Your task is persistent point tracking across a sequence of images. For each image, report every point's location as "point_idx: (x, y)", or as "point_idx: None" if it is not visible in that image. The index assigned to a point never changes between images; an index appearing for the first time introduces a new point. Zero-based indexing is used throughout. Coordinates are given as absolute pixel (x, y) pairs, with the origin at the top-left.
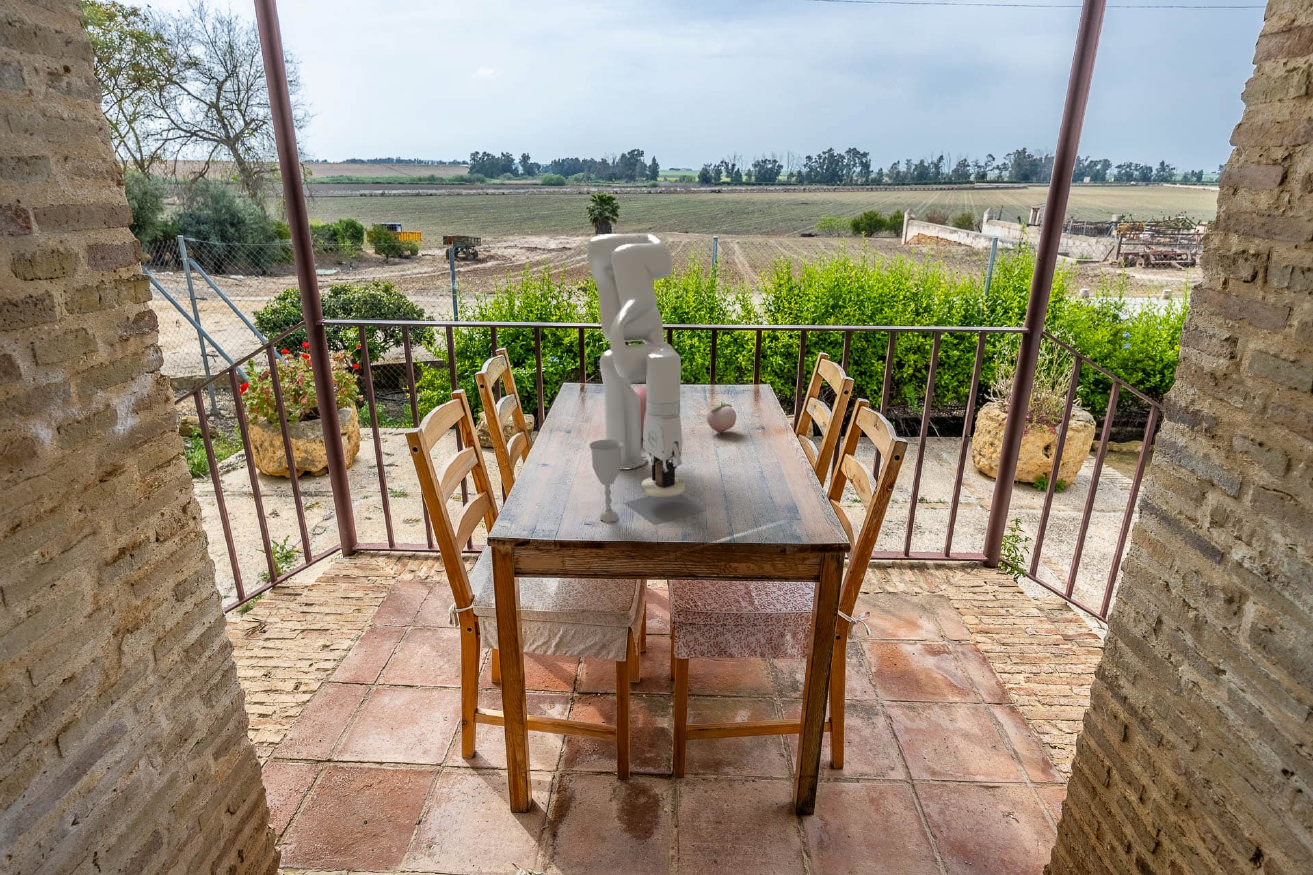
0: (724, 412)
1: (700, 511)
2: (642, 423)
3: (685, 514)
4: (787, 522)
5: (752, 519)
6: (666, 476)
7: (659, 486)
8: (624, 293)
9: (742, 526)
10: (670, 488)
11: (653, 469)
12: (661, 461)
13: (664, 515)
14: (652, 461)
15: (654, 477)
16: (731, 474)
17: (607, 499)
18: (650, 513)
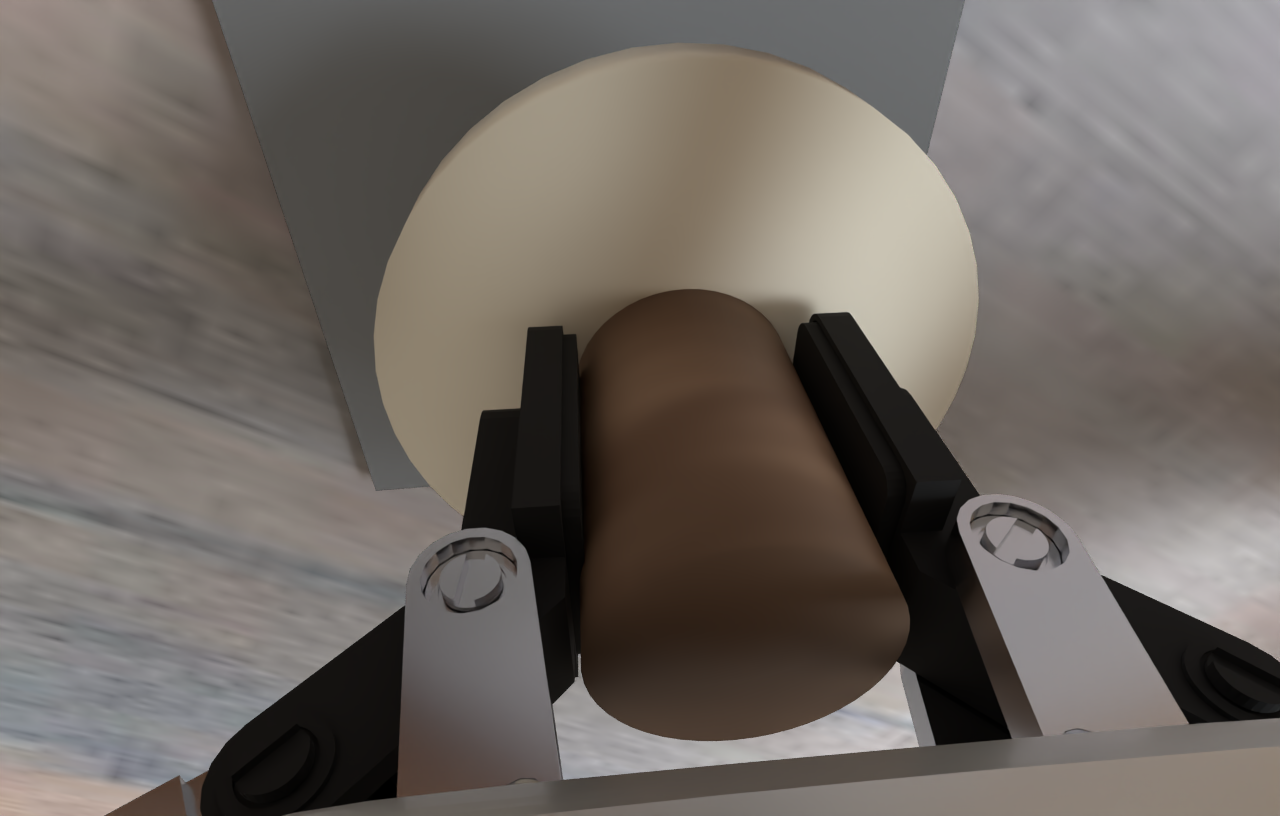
0: None
1: (366, 446)
2: None
3: (350, 324)
4: (80, 736)
5: (167, 636)
6: (509, 481)
7: (628, 305)
8: None
9: (54, 562)
10: (502, 395)
11: (878, 429)
12: (834, 656)
13: (402, 133)
14: (1011, 541)
15: (814, 353)
16: (808, 739)
17: None
18: (522, 10)
